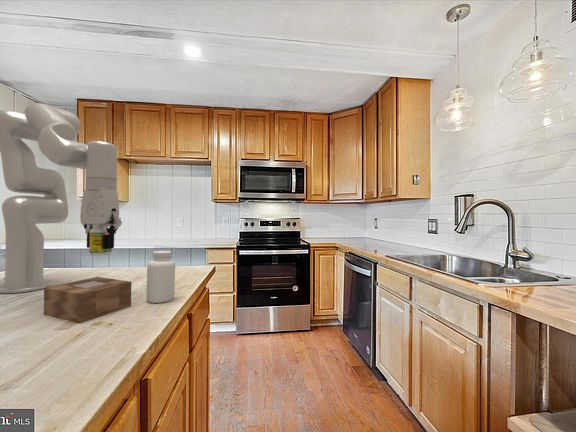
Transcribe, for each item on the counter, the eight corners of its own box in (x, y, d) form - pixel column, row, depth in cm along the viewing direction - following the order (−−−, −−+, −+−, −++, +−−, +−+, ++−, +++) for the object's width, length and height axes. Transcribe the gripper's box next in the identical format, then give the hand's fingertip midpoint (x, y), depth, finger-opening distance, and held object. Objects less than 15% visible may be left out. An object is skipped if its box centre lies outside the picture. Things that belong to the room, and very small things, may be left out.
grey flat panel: (71, 289, 75) (71, 285, 75) (93, 284, 80) (93, 281, 80) (86, 292, 73) (86, 288, 73) (107, 286, 78) (107, 283, 78)
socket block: (43, 314, 72) (44, 287, 72) (97, 299, 85) (97, 276, 85) (79, 323, 67) (80, 294, 67) (130, 305, 80) (131, 281, 80)
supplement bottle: (111, 252, 85) (111, 221, 85) (112, 254, 80) (112, 221, 80) (89, 253, 81) (89, 220, 81) (89, 256, 77) (89, 221, 77)
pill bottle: (179, 298, 88) (180, 251, 88) (156, 305, 81) (157, 254, 81) (164, 294, 92) (165, 249, 92) (140, 300, 86) (141, 251, 85)
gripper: (67, 184, 80) (66, 247, 80) (111, 183, 74) (110, 251, 74) (93, 187, 87) (92, 245, 87) (135, 186, 81) (134, 248, 82)
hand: (100, 247), depth 81 cm, fingers closed on supplement bottle, 5 cm apart
